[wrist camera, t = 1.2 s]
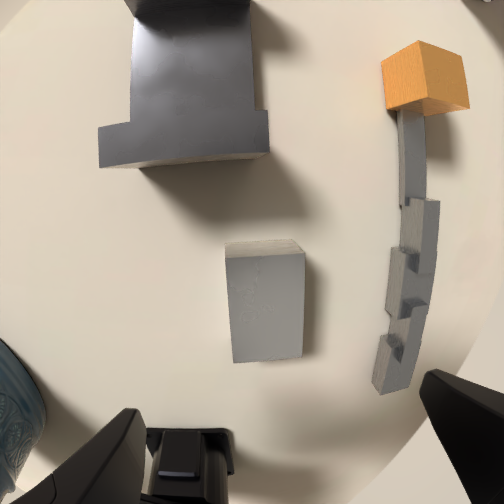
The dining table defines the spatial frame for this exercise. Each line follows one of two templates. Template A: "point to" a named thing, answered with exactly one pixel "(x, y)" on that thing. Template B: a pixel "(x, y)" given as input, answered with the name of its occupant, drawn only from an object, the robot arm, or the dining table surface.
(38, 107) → the dining table surface
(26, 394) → the canister
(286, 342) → the grey block
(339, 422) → the dining table surface
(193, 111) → the grey u-shaped bracket
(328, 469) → the dining table surface
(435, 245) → the orange headed key
